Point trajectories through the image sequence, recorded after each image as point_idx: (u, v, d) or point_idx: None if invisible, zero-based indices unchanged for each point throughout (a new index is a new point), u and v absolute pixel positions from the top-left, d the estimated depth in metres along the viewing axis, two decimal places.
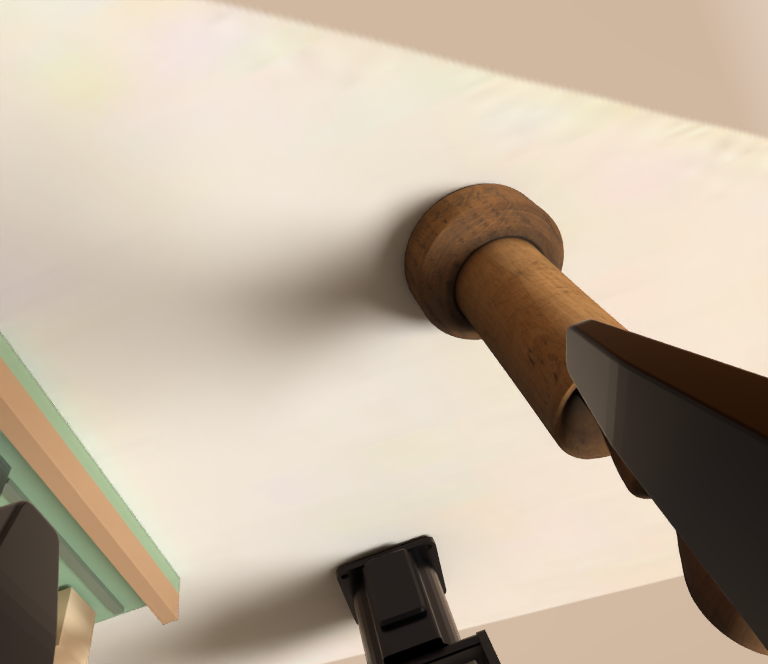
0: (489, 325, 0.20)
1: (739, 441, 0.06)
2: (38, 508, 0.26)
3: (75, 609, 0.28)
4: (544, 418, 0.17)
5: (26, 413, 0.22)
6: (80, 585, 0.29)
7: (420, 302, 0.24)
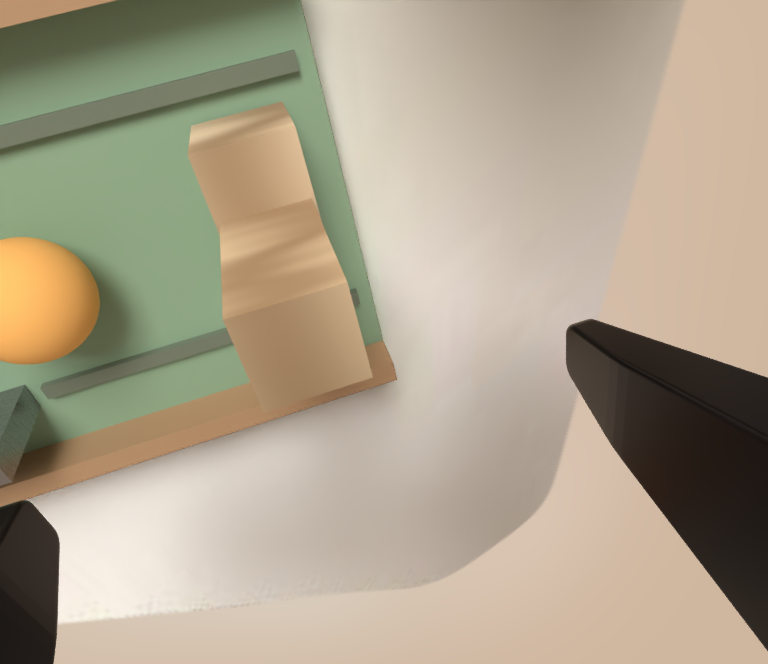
0: None
1: (739, 441, 0.06)
2: None
3: (216, 125, 0.15)
4: None
5: None
6: (205, 112, 0.16)
7: None
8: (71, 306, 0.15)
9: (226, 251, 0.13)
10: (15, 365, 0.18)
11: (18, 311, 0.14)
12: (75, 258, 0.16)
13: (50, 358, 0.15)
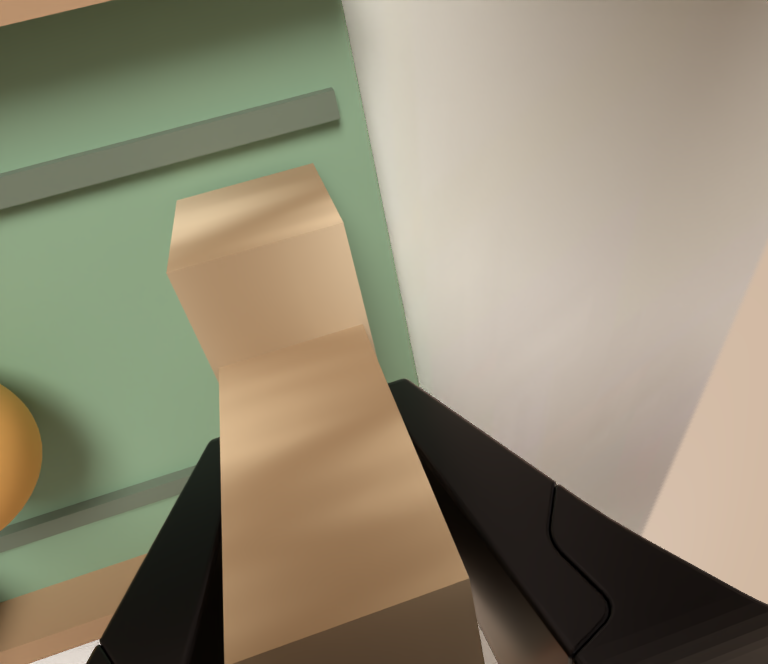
0: None
1: (473, 535, 0.06)
2: None
3: (215, 205, 0.10)
4: None
5: None
6: (197, 179, 0.11)
7: None
8: None
9: (230, 441, 0.08)
10: None
11: None
12: (1, 399, 0.10)
13: None
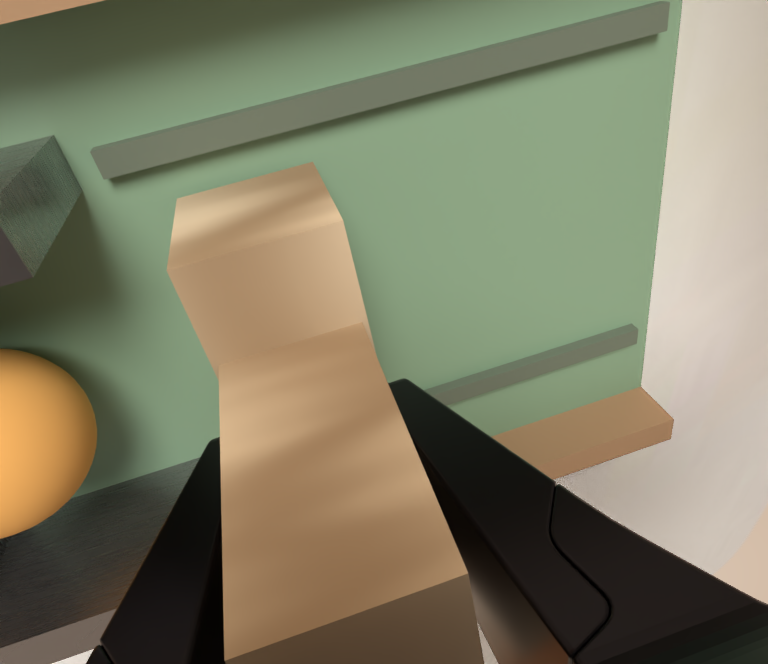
0: None
1: (473, 535, 0.06)
2: (215, 112, 0.10)
3: (215, 203, 0.10)
4: None
5: None
6: (526, 89, 0.11)
7: None
8: None
9: (230, 437, 0.08)
10: (213, 428, 0.14)
11: None
12: None
13: None
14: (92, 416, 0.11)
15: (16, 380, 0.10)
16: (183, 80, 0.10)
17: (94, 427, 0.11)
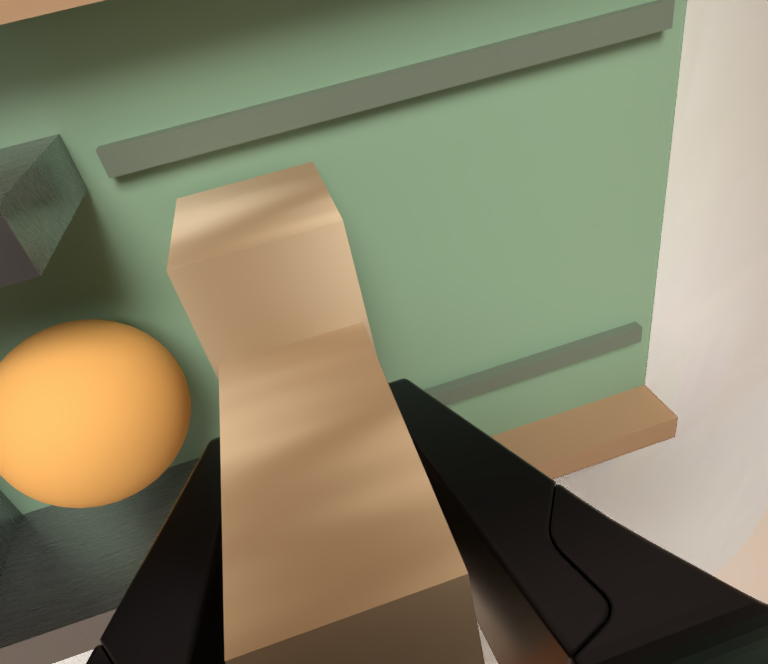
0: None
1: (473, 535, 0.06)
2: (221, 111, 0.10)
3: (215, 203, 0.10)
4: None
5: None
6: (531, 87, 0.11)
7: None
8: None
9: (230, 438, 0.08)
10: (217, 426, 0.14)
11: None
12: (23, 451, 0.09)
13: None
14: None
15: (113, 321, 0.11)
16: (188, 79, 0.10)
17: None
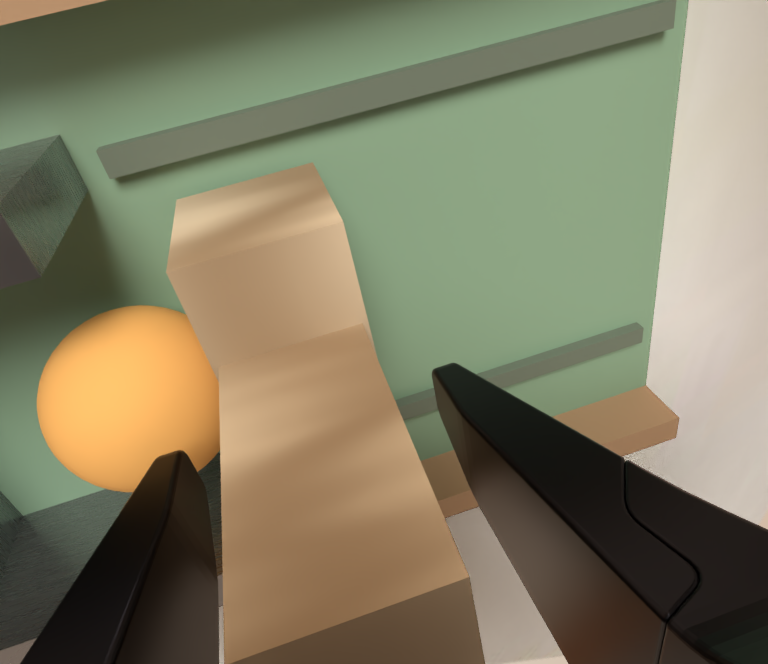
0: None
1: (544, 510, 0.06)
2: (221, 111, 0.10)
3: (214, 204, 0.10)
4: None
5: None
6: (532, 88, 0.11)
7: None
8: (76, 468, 0.10)
9: (230, 440, 0.08)
10: None
11: None
12: (138, 419, 0.09)
13: None
14: None
15: None
16: (189, 79, 0.10)
17: None
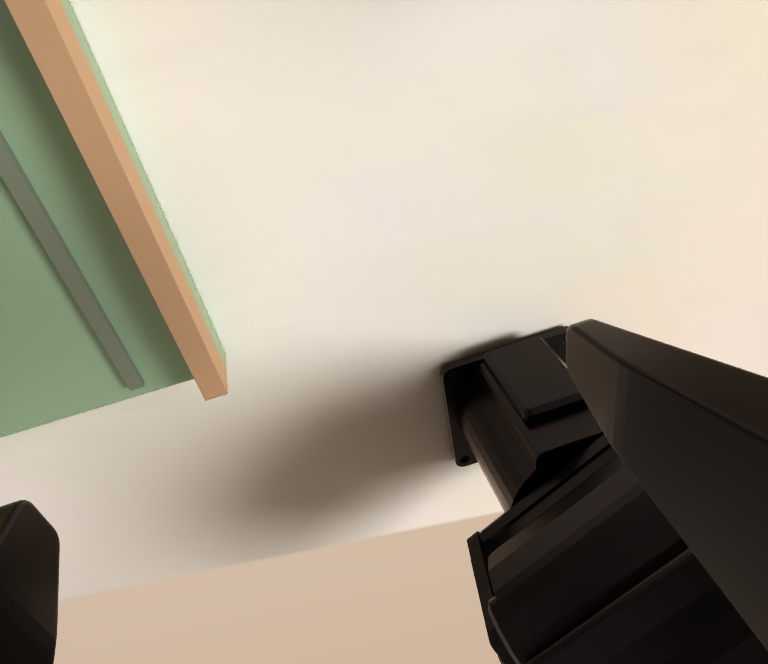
0: None
1: (739, 441, 0.06)
2: (9, 142, 0.15)
3: None
4: None
5: None
6: (79, 327, 0.19)
7: None
8: None
9: None
10: None
11: None
12: None
13: None
14: None
15: None
16: (25, 123, 0.15)
17: None
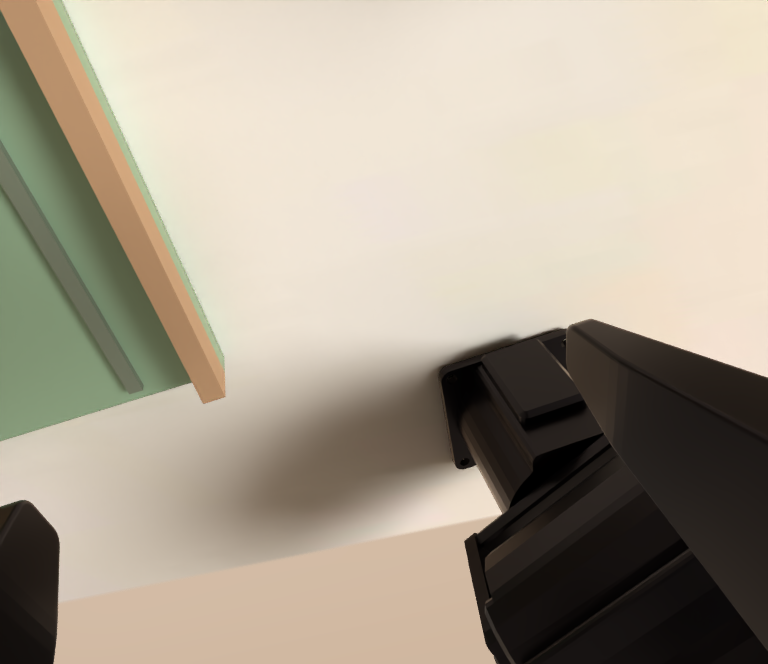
0: None
1: (739, 441, 0.06)
2: (8, 149, 0.16)
3: None
4: None
5: None
6: (78, 331, 0.19)
7: None
8: None
9: None
10: None
11: None
12: None
13: None
14: None
15: None
16: (24, 131, 0.15)
17: None
